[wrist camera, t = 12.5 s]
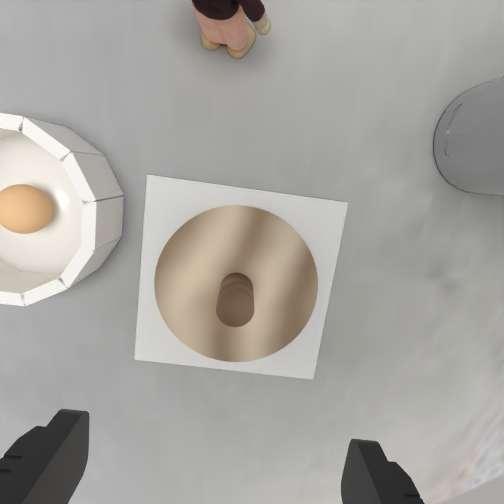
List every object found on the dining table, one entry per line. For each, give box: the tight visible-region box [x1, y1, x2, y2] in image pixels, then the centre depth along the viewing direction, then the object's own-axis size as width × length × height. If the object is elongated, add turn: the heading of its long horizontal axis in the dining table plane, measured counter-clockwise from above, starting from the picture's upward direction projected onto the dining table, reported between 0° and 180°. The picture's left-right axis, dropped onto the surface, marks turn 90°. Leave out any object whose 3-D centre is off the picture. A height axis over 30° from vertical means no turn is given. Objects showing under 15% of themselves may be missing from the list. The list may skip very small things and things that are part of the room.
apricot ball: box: [0, 184, 52, 234], centre depth 28 cm, size 4×4×4 cm
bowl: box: [0, 113, 124, 306], centre depth 28 cm, size 14×14×6 cm
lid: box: [154, 205, 318, 362], centre depth 30 cm, size 15×15×6 cm
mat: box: [134, 175, 348, 379], centre depth 33 cm, size 18×18×1 cm
